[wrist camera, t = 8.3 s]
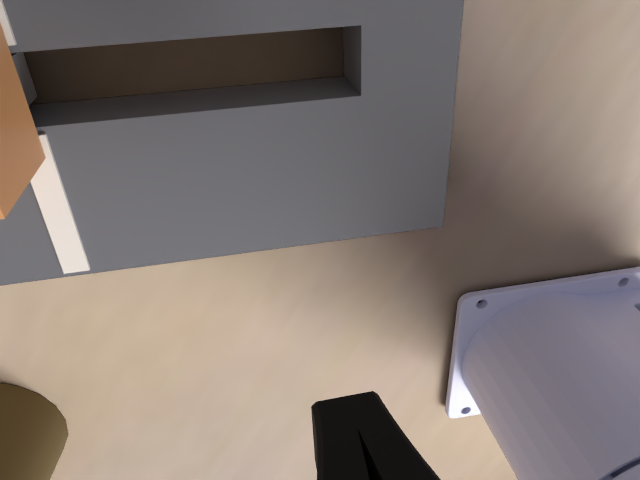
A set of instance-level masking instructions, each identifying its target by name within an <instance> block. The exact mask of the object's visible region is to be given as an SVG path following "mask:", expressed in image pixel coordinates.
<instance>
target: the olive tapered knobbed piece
mask: <svg viewBox="0 0 640 480" xmlns="http://www.w3.org/2000/svg"><path fill="white" fill-rule="evenodd" d="M67 437H68V430H67V424H66V420H65V418H64V417H63V415H62V414H61V413H60V411H59V410H58V408H57V407H56V406H55V405H54V404H52V403H51V402H49V401H48V400H47V399H45V398H44V397H43V396H41V395H40V394H37V393H35V392H32V391H30V390H27V389H25V388H22V387H19V386H16V385H9V384H3V383H0V480H50V478H51V476H52V473H53V471H54V469H55V467H56V464H57V462H58V460H59V458H60V455H61V453H62V451H63V449H64V446H65V443H66V440H67Z"/></svg>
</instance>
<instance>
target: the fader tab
mask: <svg viewBox="0 0 640 480" xmlns="http://www.w3.org/2000/svg"><path fill="white" fill-rule="evenodd" d="M36 98H37V94H36V91H35V88H34V84H33V81H32V78H31V75H30V72H29V69H28V66H27V63H26V60H25V57H24V54H23V52H17V53H10V50H9V47H8V44H7V41H6V38H5V35H4V32H3V29H2V26H1V23H0V219H5V218H6V217H7V215H8V214H9V212H10V211H11V209H12V208H13V206H14V205H15V203H16V202H17V200H18V199H19V197H20V196H21V194H22V193H23V191H24V190H25V188H26V187H27V185H28V184H29V182H30V181H31V179H32V178H33V176H34V175H35V173H36V172H37V170H38V169H39V167H40V166H41V164H42V163H43V162H44V160H45V159H46V157H45V154H44V151H43V148H42V145H41V142H40V139H39V136H38V133H37V130H36V127H35V124H34V121H33V118H32V115H31V112H30V109H29V105H30V104H31V103H32V102H33V101H34V100H35V99H36Z"/></svg>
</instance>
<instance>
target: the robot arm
mask: <svg viewBox="0 0 640 480" xmlns="http://www.w3.org/2000/svg"><path fill="white" fill-rule="evenodd" d="M480 300H483V301H481V302H480V303H478V302H479V301H480ZM477 303H478V304H477ZM311 408H312V422H313V436H314V450H315V462H316V468H317V480H440V478H439V477H438V476H437V475H436V474H435V472H434V471H433V470H432V469H431V467H430V466H429V465H428V464H427V463H426V461H425V460H424V459H423V458H422V456H421V455H420V454H419V452H418V451H417V450H416V449H415V447H414V446H413V445H412V443H411V442H410V441H409V439H408V438H407V437H406V435H405V434H404V433H403V431H402V430H401V428H400V427H399V426H398V424H397V423H396V421H395V420H394V419H393V417H392V416H391V414H390V413H389V411H388V410H387V408H386V407H385V405H384V404H383V402H382V400H381V399H380V397H379V395H378V394H377V393H375V392H373V391H371V392H366V393H360V394H355V395H350V396H344V397H339V398H334V399H328V400H323V401H318V402H316V403H315V404H314V405H312V406H311ZM445 411H446V413H447V415H448V416H449V417H450V418H460V417H465V416H471V415H476V414H482V416H483V417H484V419H485V421H486V423H487V425H488V426H489V428H490V430H491V432H492V434H493V435H494V437H495V439H496V441H497V443H498V444H499V446H500V448H501V450H502V452H503V453H504V455H505V457H506V459H507V461H508V462H509V464H510V466H511V468H512V470H513V471H514V473H515V475H516V477H517V479H518V480H640V267H634V268H627V269H621V270H614V271H607V272H601V273H594V274H588V275H581V276H574V277H568V278H561V279H555V280H548V281H541V282H535V283H528V284H522V285H515V286H508V287H502V288H495V289H489V290H482V291H475V292H469V293H466V294H464V295H462V296H461V297H460V299H459V300H458V304H457V313H456V321H455V329H454V338H453V346H452V355H451V363H450V371H449V380H448V388H447V397H446V405H445Z"/></svg>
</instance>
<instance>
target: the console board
mask: <svg viewBox="0 0 640 480" xmlns="http://www.w3.org/2000/svg"><path fill="white" fill-rule="evenodd" d="M463 5H464V0H0V23H1V26H2V29H3V32H4V35H5V38H6V41H7V44H8V47H9V50H10V53H17V52H29V51H42V50H55V49H67V48H80V47H92V46H105V45H118V44H130V43H143V42H156V41H168V40H181V39H194V38H206V37H219V36H232V35H244V34H257V33H270V32H282V31H295V30H308V29H320V28H333V27H343V46H344V76H339V77H328V78H317V79H306V80H295V81H284V82H273V83H262V84H251V85H240V86H229V87H218V88H207V89H197V90H186V91H175V92H164V93H153V94H142V95H131V96H120V97H109V98H98V99H87V100H76V101H66V102H55V103H44V104H33V105H29V109H30V112H31V115H32V118H33V121H34V124H35V127H36V130H37V133H38V136H39V139H40V142H41V145H42V148H43V151H44V154H45V157H46V159H45V160H44V162H43V163H42V164H41V166H40V167H39V169H38V170H37V172H36V173H35V175H34V176H33V178H32V179H31V181H30V182H29V184H28V185H27V187H26V188H25V190H24V191H23V193H22V194H21V196H20V197H19V199H18V200H17V202H16V203H15V205H14V206H13V208H12V209H11V211H10V212H9V214H8V215H7V217H6V218H5V219H0V286H1V285H8V284H16V283H23V282H31V281H38V280H46V279H53V278H61V277H68V276H76V275H83V274H91V273H98V272H106V271H113V270H121V269H128V268H136V267H143V266H151V265H158V264H166V263H173V262H181V261H188V260H196V259H203V258H211V257H218V256H226V255H233V254H241V253H248V252H256V251H263V250H271V249H278V248H286V247H294V246H301V245H309V244H316V243H324V242H331V241H339V240H346V239H354V238H361V237H369V236H376V235H384V234H391V233H399V232H406V231H414V230H421V229H429V228H436V227H443V222H444V211H445V200H446V189H447V179H448V168H449V157H450V146H451V135H452V124H453V113H454V103H455V92H456V81H457V70H458V59H459V48H460V37H461V26H462V16H463Z"/></svg>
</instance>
